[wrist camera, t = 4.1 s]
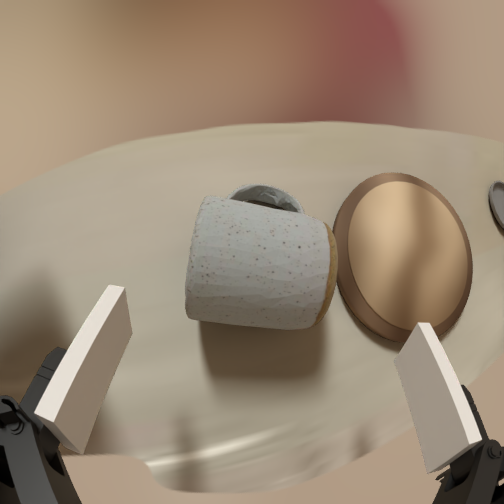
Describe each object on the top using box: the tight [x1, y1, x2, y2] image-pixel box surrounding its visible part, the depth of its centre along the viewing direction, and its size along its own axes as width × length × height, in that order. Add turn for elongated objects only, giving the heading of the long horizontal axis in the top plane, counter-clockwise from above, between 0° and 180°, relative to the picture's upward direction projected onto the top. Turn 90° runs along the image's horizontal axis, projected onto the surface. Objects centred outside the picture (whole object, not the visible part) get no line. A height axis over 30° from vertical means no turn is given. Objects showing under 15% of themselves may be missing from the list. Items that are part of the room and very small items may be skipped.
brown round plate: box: [332, 173, 473, 343], centre depth 22 cm, size 15×15×1 cm
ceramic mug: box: [185, 184, 338, 330], centre depth 19 cm, size 11×8×8 cm
